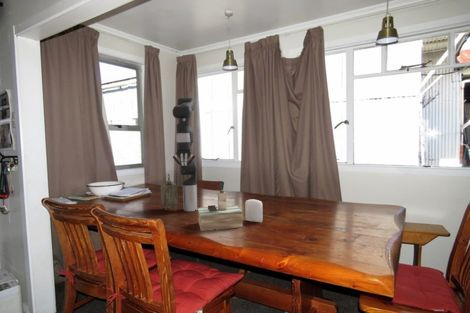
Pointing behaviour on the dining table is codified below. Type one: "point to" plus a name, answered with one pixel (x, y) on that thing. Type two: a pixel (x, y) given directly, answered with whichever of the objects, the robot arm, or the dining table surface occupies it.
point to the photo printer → (253, 210)
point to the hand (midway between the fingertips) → (184, 172)
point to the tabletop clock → (169, 194)
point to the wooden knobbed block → (222, 200)
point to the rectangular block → (220, 217)
